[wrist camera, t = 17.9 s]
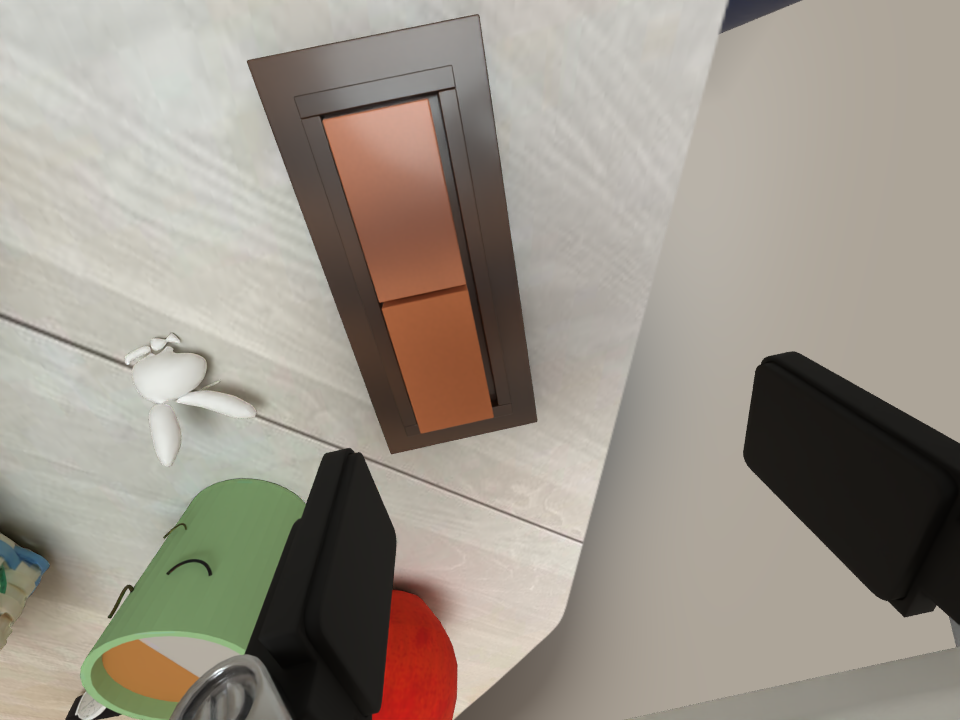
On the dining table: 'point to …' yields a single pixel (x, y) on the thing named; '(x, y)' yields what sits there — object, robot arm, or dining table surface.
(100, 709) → the watch
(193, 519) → the mug
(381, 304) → the board
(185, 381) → the rabbit figurine
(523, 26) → the dining table surface
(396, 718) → the apple
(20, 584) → the basket
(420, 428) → the block
